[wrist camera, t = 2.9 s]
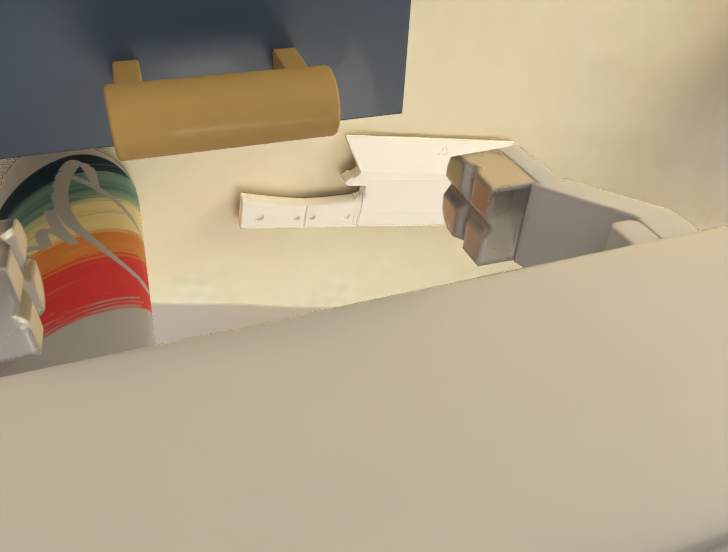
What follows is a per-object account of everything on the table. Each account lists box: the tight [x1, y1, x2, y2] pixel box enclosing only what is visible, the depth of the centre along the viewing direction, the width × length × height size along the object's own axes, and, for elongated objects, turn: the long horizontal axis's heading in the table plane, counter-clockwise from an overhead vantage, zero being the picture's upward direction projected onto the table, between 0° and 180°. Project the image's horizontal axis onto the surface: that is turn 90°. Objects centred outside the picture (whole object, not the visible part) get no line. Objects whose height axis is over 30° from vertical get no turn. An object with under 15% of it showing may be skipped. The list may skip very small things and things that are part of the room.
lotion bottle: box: [0, 149, 155, 377], centre depth 21 cm, size 6×6×20 cm
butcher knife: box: [238, 135, 514, 229], centre depth 32 cm, size 5×15×1 cm, turn 78°
